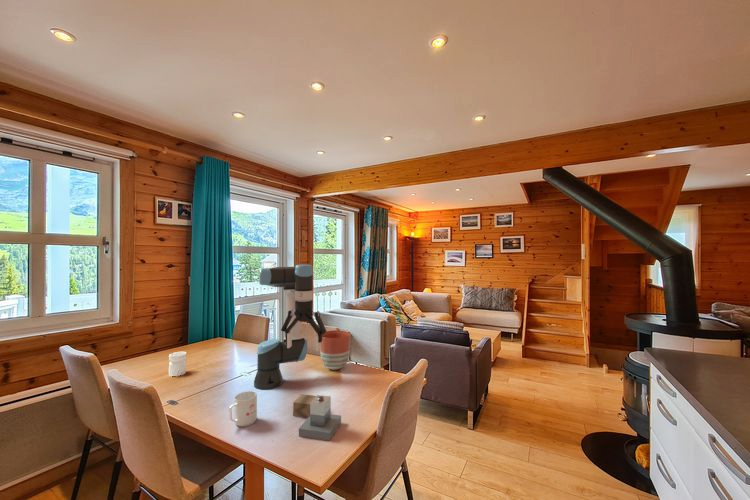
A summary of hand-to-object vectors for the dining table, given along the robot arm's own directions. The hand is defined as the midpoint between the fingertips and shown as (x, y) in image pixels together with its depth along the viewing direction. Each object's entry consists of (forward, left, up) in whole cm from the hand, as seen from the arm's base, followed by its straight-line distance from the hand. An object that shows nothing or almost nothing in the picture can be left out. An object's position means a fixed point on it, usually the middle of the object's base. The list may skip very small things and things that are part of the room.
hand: (303, 348), depth 133 cm
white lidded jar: (-97, +30, -31) cm, 106 cm away
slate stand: (+11, -6, -31) cm, 33 cm away
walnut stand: (-1, +5, -31) cm, 31 cm away
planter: (-7, +59, -31) cm, 67 cm away
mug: (-24, -9, -31) cm, 40 cm away
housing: (+10, -6, -28) cm, 30 cm away
